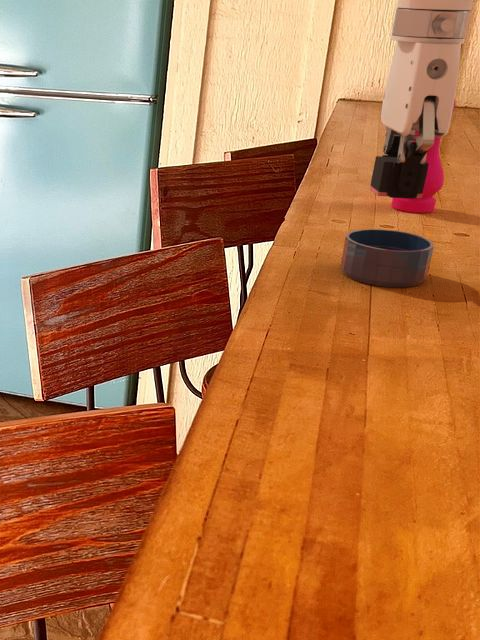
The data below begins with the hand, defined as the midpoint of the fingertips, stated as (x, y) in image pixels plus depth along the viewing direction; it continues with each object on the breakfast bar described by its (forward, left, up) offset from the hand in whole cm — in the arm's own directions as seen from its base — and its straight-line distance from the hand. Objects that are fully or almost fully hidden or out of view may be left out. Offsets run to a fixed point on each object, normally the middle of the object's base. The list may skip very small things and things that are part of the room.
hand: (396, 191), depth 104 cm
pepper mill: (-15, -36, -10) cm, 40 cm away
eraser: (0, 0, 0) cm, 0 cm away
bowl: (0, 0, -10) cm, 10 cm away
